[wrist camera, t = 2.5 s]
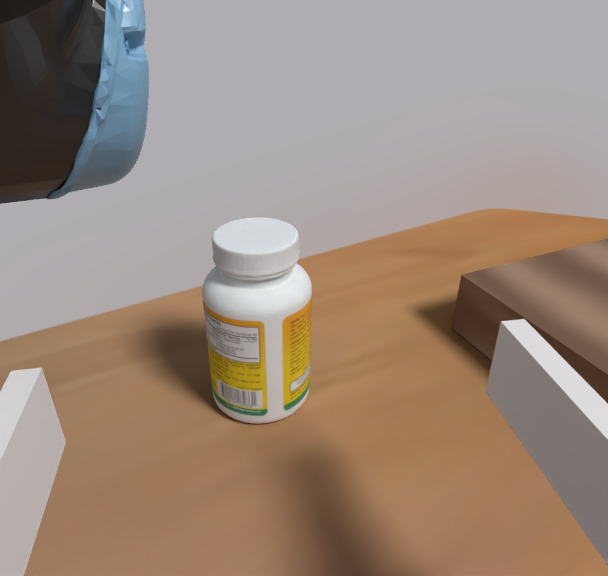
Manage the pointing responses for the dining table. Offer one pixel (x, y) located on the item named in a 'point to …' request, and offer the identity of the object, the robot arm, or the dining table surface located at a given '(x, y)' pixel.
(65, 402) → the dining table surface
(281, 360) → the supplement bottle
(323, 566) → the dining table surface
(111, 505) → the dining table surface
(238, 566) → the dining table surface
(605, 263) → the walnut riser
